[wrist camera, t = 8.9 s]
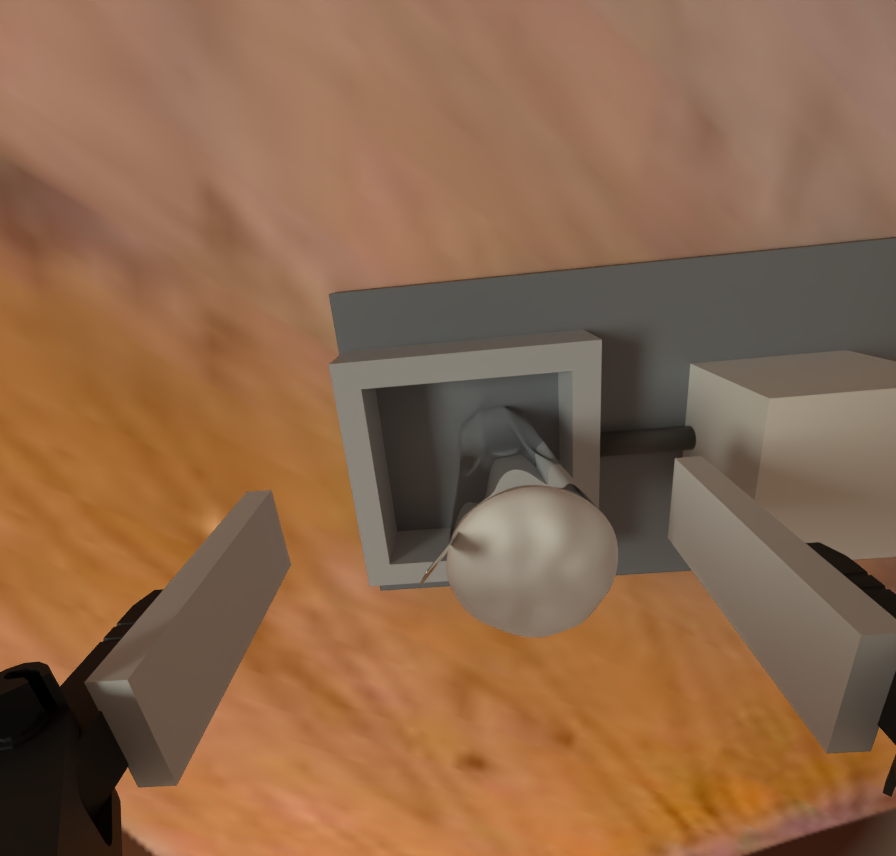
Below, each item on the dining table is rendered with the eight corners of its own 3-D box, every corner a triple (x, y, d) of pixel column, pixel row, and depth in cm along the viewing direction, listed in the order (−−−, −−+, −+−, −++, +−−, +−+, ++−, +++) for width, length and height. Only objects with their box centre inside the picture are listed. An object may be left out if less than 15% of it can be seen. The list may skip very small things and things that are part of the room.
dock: (336, 291, 19) (282, 305, 13) (895, 236, 18) (1107, 225, 12) (384, 575, 24) (360, 677, 18) (829, 545, 23) (958, 644, 17)
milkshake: (452, 365, 18) (468, 493, 9) (569, 416, 19) (690, 579, 10) (409, 459, 20) (384, 650, 11) (519, 502, 21) (583, 712, 12)
